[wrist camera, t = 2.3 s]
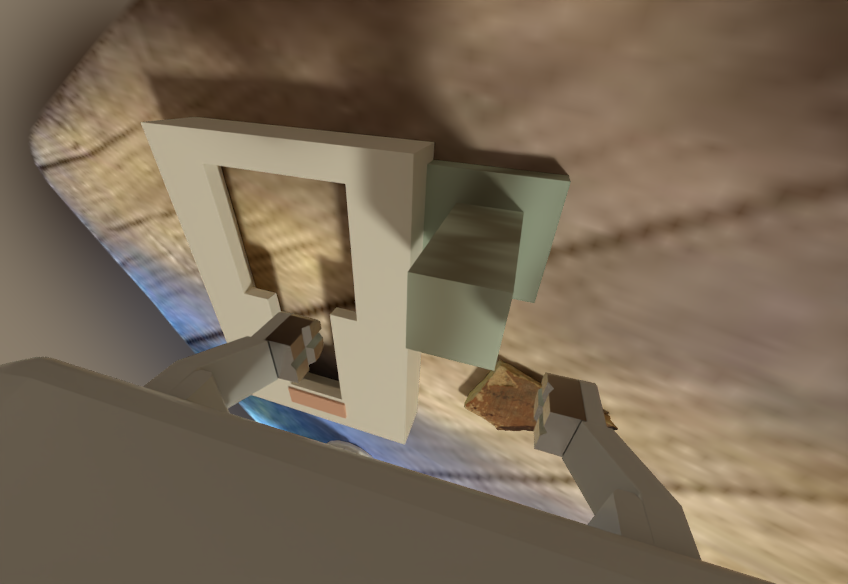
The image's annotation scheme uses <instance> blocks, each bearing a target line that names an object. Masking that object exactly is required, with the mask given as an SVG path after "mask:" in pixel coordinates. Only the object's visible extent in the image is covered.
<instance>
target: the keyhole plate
mask: <svg viewBox="0 0 848 584" xmlns="http://www.w3.org/2000/svg"><path fill="white" fill-rule="evenodd" d="M141 125H142V127H143V130H144V132H145V135H146V137H147V140H148V142H149V145H150V147H151V150H152V153H153V155H154V158H155V160H156V163H157V165H158V168H159V170H160V173H161V175H162V178H163V181H164V183H165V186H166V188H167V191H168V193H169V196H170V198H171V201H172V203H173V206H174V209H175V211H176V214H177V216H178V219H179V221H180V224H181V226H182V229H183V231H184V234H185V237H186V239H187V242H188V244H189V247H190V249H191V252H192V254H193V257H194V259H195V262H196V265H197V267H198V270H199V272H200V275H201V277H202V280H203V282H204V285H205V287H206V290H207V293H208V295H209V298H210V300H211V303H212V305H213V308H214V310H215V313H216V316H217V318H218V321H219V323H220V326H221V328H222V331H223V333H224V336H225V338H226V341H227V343H229V342H232V341H234V340H237V339H240V338H243V337H246V336H250V337H251V336H252V335H253V334H255V333H256V332H257V331H258V330H259V329H260V328H261V327H263V326H264V325H265V324H266V323H267V322H268V321H269V320H270V319H272V318H273V317H274V316H275V315H276V314H277V313H278V312H281V310H280V306H279V302H278V298H277V294H276V293H275V292H270V291H266V290H262V289H258V288H256V287H255V283H254V280H253V276H252V273H251V269H250V266H249V262H248V259H247V255H246V252H245V248H244V245H243V242H242V238H241V235H240V231H239V228H238V224H237V221H236V217H235V214H234V210H233V207H232V203H231V200H230V196H229V193H228V190H227V186H226V183H225V179H224V176H223V172H222V169H221V166H225V167H232V168H239V169H246V170H253V171H260V172H267V173H274V174H281V175H288V176H295V177H302V178H309V179H316V180H322V181H329V182H336V183H343V184H345V185H346V197H347V209H348V220H349V232H350V244H351V256H352V268H353V280H354V292H355V303H356V312H355V311H350V310H346V309H342V308H338V307H336V308H335V310H334V311H333V312H332V313H331V314H330V319H331V326H332V333H333V340H334V347H335V354H336V361H337V368H338V375H339V381H336V380H333V379H330V378H326V377H323V376H319V375H316V374H312V373H309V372H307V374H306V375H305V376H304V377H303V379H302V380H301V381H300V382H299V383H296V382H292V381H287V380H283V379H279V378H278V380H276V381H274V382H272V383H271V384H269V385H267V386H266V387H264V388H262V389H260V390H259V391H257V392H255V393H253V394H252V395H253V396H256V397H259V398H262V399H266V400H269V401H272V402H275V403H278V404H281V405H284V406H287V407H290V408H293V409H296V410H300V411H303V412H306V413H309V414H312V415H315V416H318V417H321V418H324V419H327V420H330V421H334V422H337V423H340V424H343V425H346V426H349V427H352V428H355V429H358V430H361V431H364V432H368V433H371V434H374V435H377V436H380V437H383V438H386V439H389V440H392V441H395V442H398V443H402V444H405V442H406V440H407V437H408V434H409V432H410V429H411V426H412V424H413V421H414V418H415V416H416V413H417V410H418V395H419V380H420V364H421V352H418V351H414V350H410V349H406V314H407V275H408V271H409V269H410V268H411V266H412V265H413V264H414V262H415V261H416V259H417V258H418V257H419V255H420V254H421V252H422V251H423V234H424V215H425V196H426V178H427V164H428V163H430V162H431V161H432V160H433V159H434V143H435V142H428V141H418V140H409V139H400V138H390V137H381V136H371V135H362V134H352V133H343V132H334V131H324V130H315V129H305V128H296V127H287V126H277V125H268V124H258V123H249V122H240V121H230V120H221V119H211V118H202V117H189V118H178V119H168V120H157V121H147V122H141Z"/></svg>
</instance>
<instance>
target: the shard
mask: <svg viewBox="0 0 848 584" xmlns="http://www.w3.org/2000/svg"><path fill="white" fill-rule="evenodd" d="M541 388H542V384H541V383H540V382H538V381H537V380H534V379H533V378H530V377H529V376H527V375H526V374H524V373H523V372H521V371H519V370H518V369H516V368H515V367H513V366H512V365H510V364H507V363H504V362H503V361H501V360H499V361H498V362H497V363H496V365H495V369H494V371H493V370H491V371H490V372H489V374H488V375H487V376H486V377H485V379H484V380H483V381H482V382H480V383H479V384H478V385H477V386H476V387H475V388H474V389H473V390H472V391H470V393H469V395H468V398H467V400H466V401H465V404H464V407H465V408H466V409H468V410H469V411H471V412H473V413H475V414H477V415H478V416H481V417H483V418H484V419H486V420H487V421H488V422H490V423H491V424H492V425H494V426H495V427H496V429H497V430H505V431H507V430H510V431H521V430H527V431H534V428H535V426H536V423H537V422H536V421H535V419H534V403H535V398H536V394H537V392H538V390H539V389H541ZM604 417H605V421H606V425H607V427H608V428H612V429H613V430H617V429H618V428H617V427H616V426H615V425H614V424H613V422H612V421H611V420H610V416H608V415H606V414H604Z"/></svg>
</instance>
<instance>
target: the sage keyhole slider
mask: <svg viewBox="0 0 848 584" xmlns="http://www.w3.org/2000/svg"><path fill="white" fill-rule="evenodd" d="M570 182H571V181H570V178H569V176H568V175H560V174H551V173H543V172H534V171H526V170H517V169H509V168H500V167H492V166H484V165H475V164H467V163H458V162H450V161H441V160H432V161H431V162H430V163H428V164H427V178H426V196H425V215H424V234H423V251H422V252H421V254H420V255H419V257H418V258H417V259H416V261H415V262H414V264H413V265H412V266H411V268H410V269H409V271H408V275H407V314H406V349H410V350H414V351H418V352H422V353H426V354H430V355H434V356H438V357H442V358H446V359H449V360H453V361H457V362H461V363H465V364H469V365H473V366H477V367H481V368H485V369H489V370H493V371H494V369H495V365H496V361H497V357H498V353H499V349H500V345H501V341H502V337H503V333H504V329H505V325H506V321H507V317H508V313H509V309H510V305H511V301H512V299H517V300H522V301H526V302H531V303H535V299H536V296H537V293H538V289H539V286H540V283H541V279H542V276H543V273H544V269H545V266H546V263H547V259H548V256H549V253H550V249H551V246H552V242H553V239H554V236H555V232H556V229H557V226H558V222H559V219H560V216H561V212H562V209H563V206H564V202H565V199H566V196H567V192H568V189H569V186H570Z"/></svg>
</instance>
